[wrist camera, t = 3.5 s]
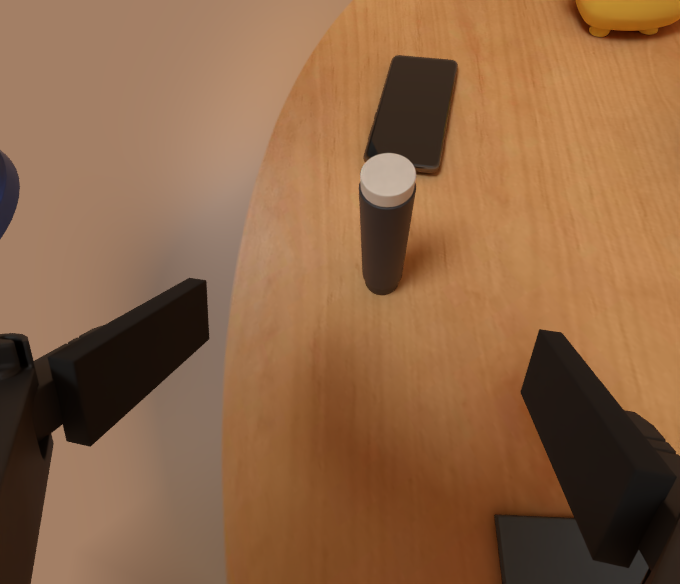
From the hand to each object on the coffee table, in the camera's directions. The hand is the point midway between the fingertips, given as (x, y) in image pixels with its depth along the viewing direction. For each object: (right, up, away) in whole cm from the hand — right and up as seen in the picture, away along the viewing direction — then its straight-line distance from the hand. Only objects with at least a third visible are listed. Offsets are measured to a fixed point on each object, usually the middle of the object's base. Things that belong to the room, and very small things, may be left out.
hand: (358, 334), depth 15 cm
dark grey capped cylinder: (+3, +3, +17) cm, 18 cm away
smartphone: (+7, +20, +25) cm, 33 cm away
